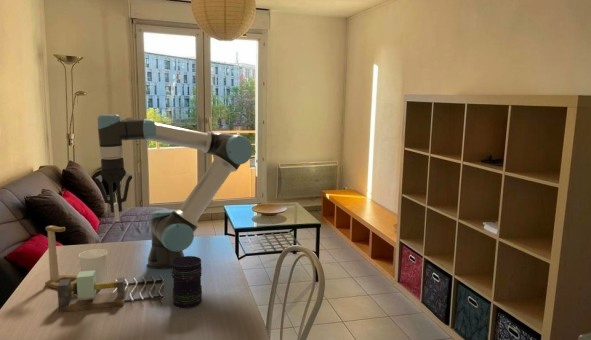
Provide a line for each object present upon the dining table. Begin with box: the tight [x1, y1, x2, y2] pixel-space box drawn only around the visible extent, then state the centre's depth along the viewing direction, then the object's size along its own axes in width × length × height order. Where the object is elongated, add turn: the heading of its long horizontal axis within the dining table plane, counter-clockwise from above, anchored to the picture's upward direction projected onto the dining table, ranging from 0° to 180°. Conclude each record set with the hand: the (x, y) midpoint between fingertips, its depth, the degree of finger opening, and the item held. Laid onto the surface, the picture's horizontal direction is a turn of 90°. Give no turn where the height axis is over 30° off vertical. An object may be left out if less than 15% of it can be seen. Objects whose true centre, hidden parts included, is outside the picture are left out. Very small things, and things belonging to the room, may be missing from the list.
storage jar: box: [171, 255, 203, 310], centre depth 146 cm, size 10×10×15 cm
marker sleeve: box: [76, 270, 98, 298], centre depth 143 cm, size 5×5×7 cm
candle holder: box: [78, 248, 108, 283], centre depth 159 cm, size 10×10×12 cm
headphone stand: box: [44, 225, 77, 290], centre depth 158 cm, size 10×11×22 cm
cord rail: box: [56, 277, 127, 313], centre depth 144 cm, size 20×8×8 cm, turn 107°
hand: (117, 220), depth 156 cm, fingers closed
